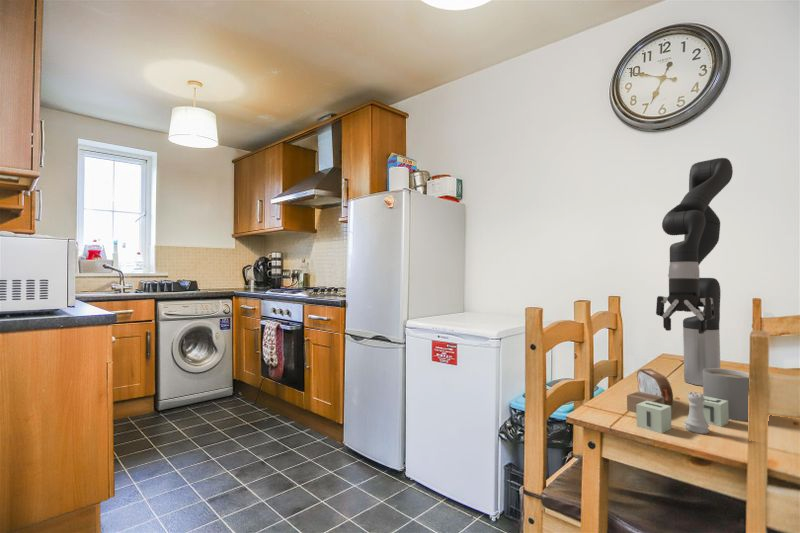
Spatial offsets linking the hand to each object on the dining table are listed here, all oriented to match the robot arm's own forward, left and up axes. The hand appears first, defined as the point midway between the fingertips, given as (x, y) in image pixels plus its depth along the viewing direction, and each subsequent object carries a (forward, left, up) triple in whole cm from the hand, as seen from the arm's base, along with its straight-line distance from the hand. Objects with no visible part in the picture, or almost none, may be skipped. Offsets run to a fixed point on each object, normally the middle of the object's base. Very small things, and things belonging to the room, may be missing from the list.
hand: (684, 331), depth 119 cm
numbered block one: (+40, +8, -17) cm, 44 cm away
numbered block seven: (+25, +14, -17) cm, 33 cm away
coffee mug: (+13, +14, -17) cm, 26 cm away
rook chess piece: (+34, +14, -17) cm, 41 cm away
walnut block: (+30, +2, -17) cm, 35 cm away
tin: (+21, 0, -18) cm, 27 cm away
